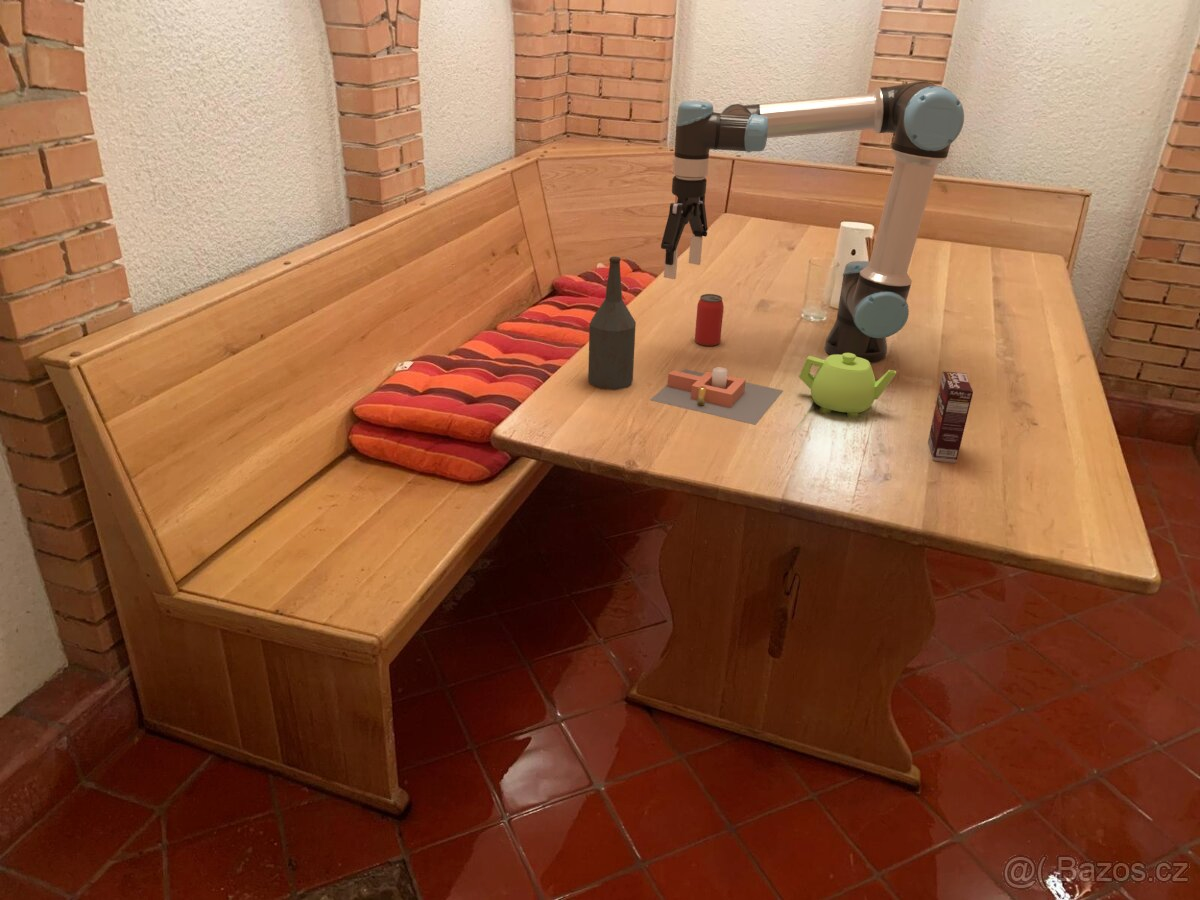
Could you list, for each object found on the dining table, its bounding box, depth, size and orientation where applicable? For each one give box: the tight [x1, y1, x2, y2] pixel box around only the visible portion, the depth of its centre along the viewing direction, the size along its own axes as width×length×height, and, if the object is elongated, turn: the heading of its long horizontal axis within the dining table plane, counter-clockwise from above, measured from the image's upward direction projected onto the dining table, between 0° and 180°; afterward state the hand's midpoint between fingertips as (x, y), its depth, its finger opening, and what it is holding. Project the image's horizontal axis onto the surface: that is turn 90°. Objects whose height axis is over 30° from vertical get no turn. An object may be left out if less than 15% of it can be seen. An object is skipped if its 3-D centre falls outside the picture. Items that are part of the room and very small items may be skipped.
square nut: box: [666, 370, 747, 407], centre depth 202 cm, size 16×9×3 cm, turn 63°
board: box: [649, 366, 784, 426], centre depth 200 cm, size 24×20×8 cm
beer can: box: [694, 293, 725, 347], centre depth 231 cm, size 7×7×12 cm
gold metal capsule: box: [697, 386, 706, 406], centre depth 195 cm, size 2×2×4 cm
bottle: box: [587, 256, 636, 391], centre depth 200 cm, size 10×10×30 cm
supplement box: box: [927, 371, 974, 464], centre depth 179 cm, size 9×5×16 cm, turn 169°
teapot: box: [798, 353, 897, 419], centre depth 198 cm, size 20×13×13 cm
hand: (682, 270), depth 210 cm, fingers open, 13 cm apart
